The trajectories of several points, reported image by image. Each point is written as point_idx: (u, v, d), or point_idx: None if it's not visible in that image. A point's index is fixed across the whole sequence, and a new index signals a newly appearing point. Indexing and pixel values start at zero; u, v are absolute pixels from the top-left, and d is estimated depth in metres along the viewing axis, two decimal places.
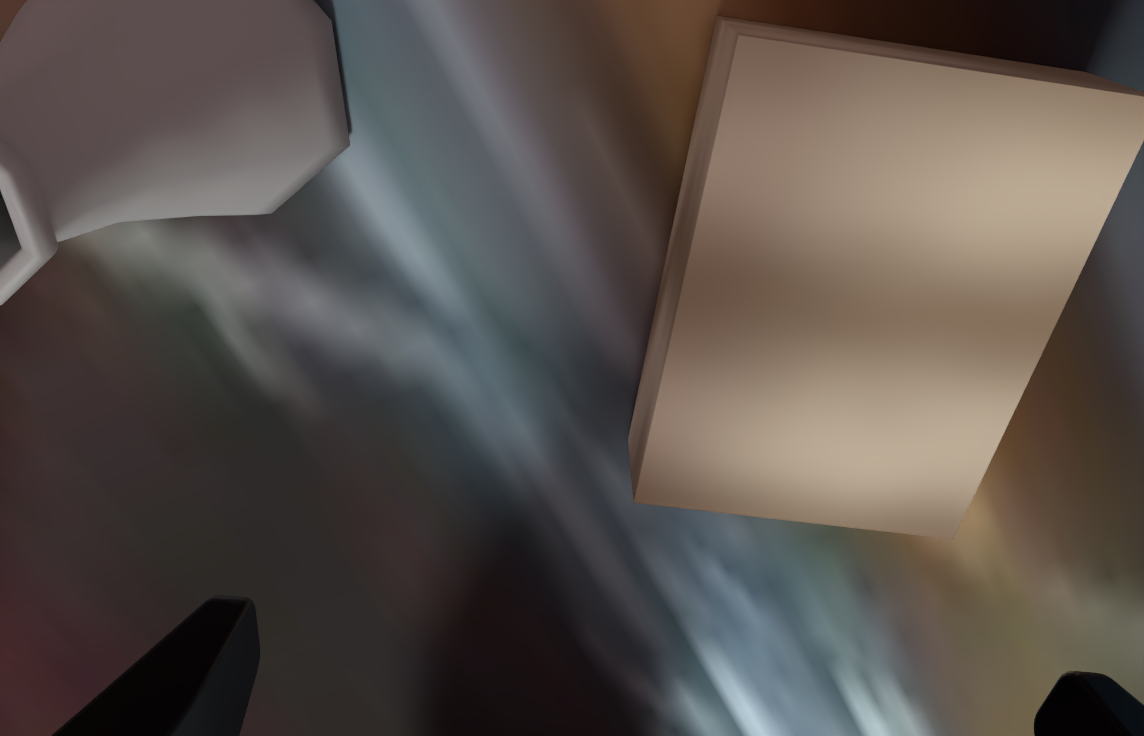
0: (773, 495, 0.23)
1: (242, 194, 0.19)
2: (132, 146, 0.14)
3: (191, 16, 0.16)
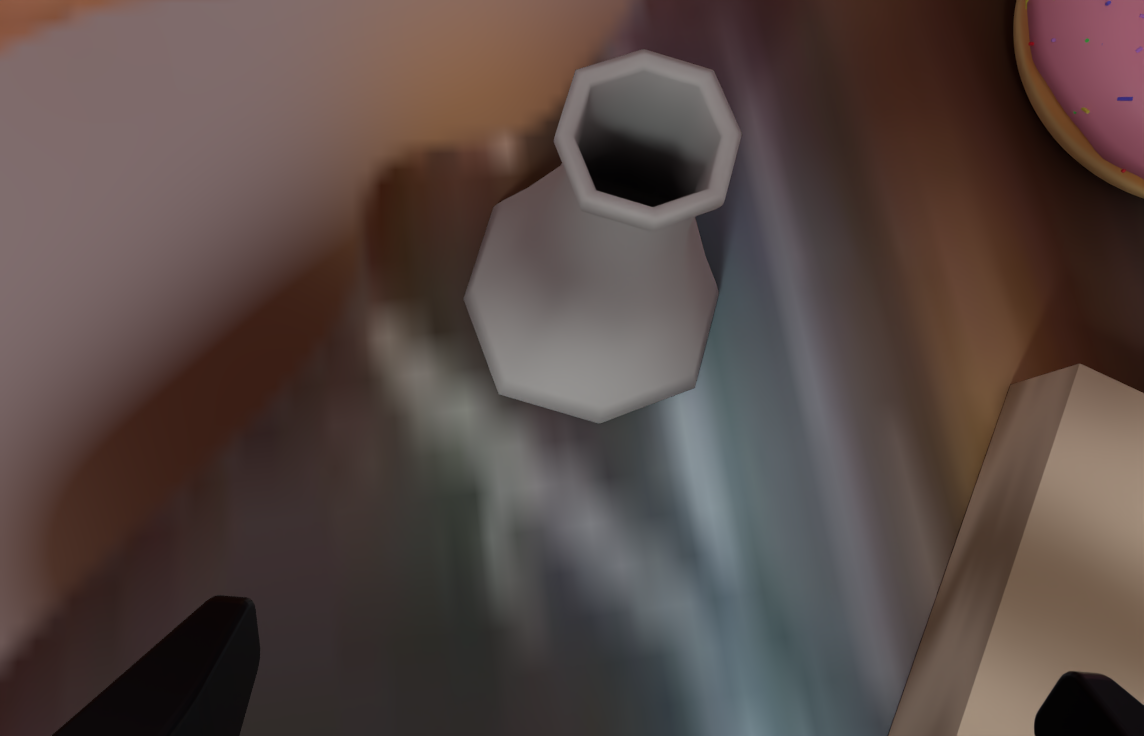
0: None
1: (636, 366, 0.21)
2: None
3: None
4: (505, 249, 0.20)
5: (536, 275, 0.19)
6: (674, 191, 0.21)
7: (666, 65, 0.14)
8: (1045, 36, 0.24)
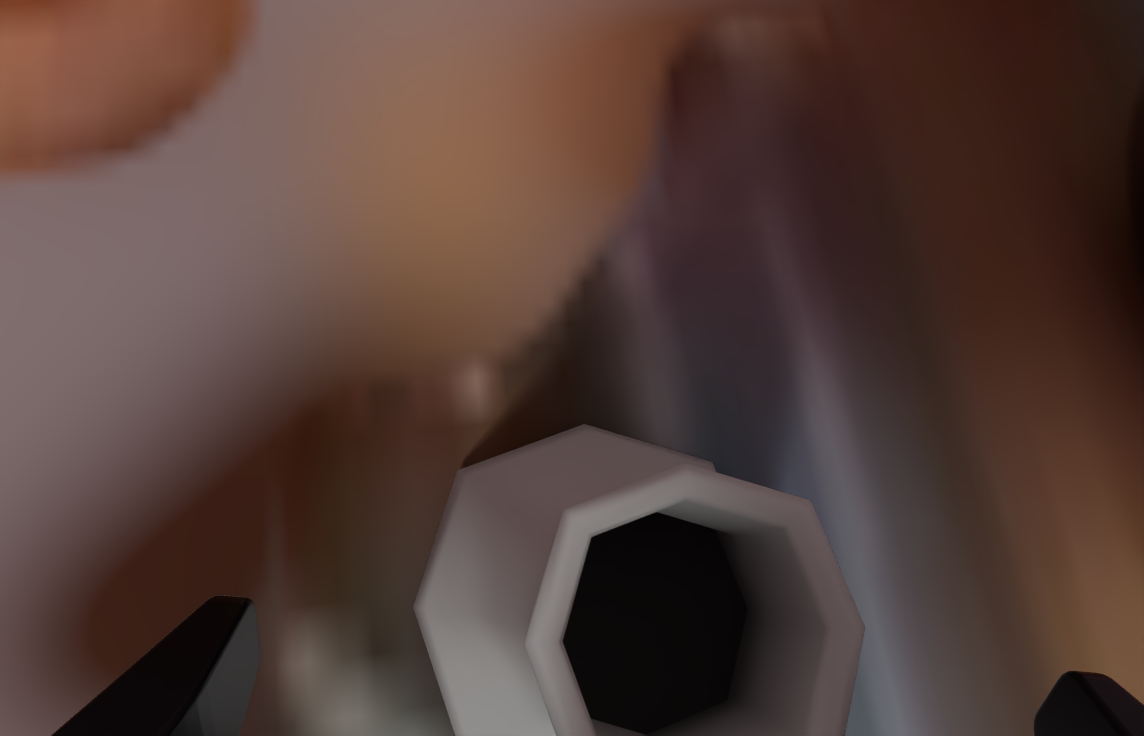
0: None
1: None
2: (742, 648, 0.11)
3: None
4: (465, 590, 0.14)
5: (507, 673, 0.12)
6: None
7: (727, 495, 0.08)
8: None
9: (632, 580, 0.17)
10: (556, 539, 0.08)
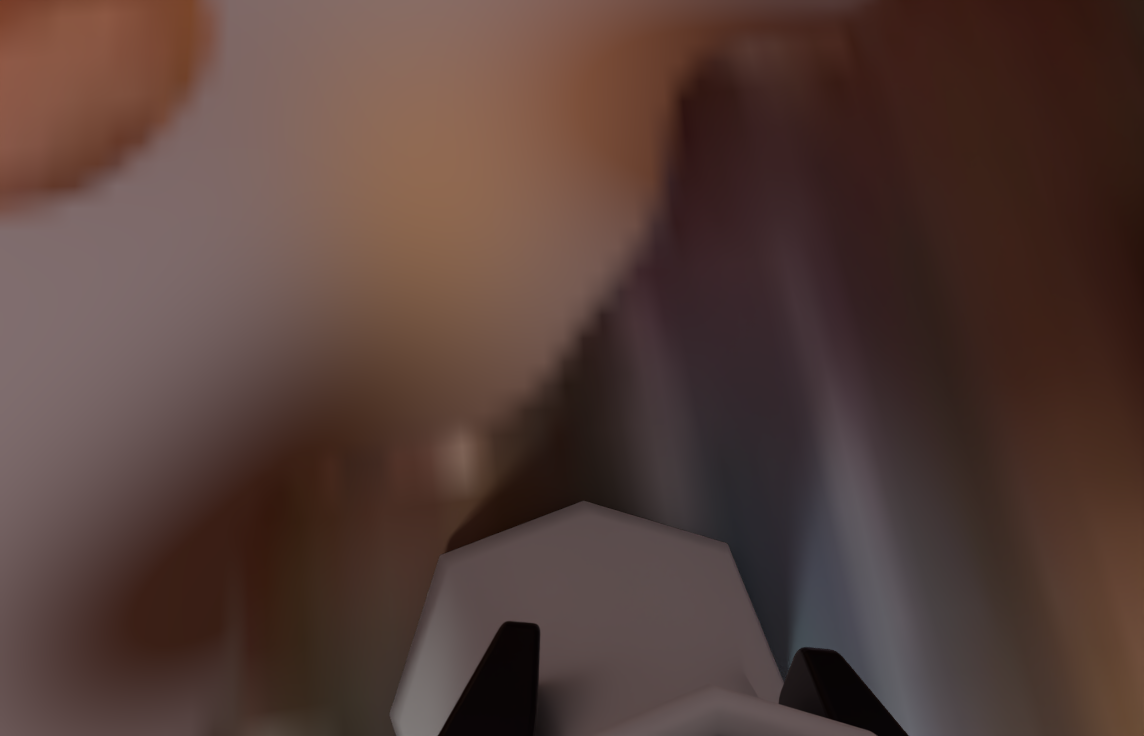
0: None
1: None
2: None
3: (753, 655, 0.12)
4: (444, 721, 0.12)
5: None
6: None
7: None
8: None
9: None
10: None
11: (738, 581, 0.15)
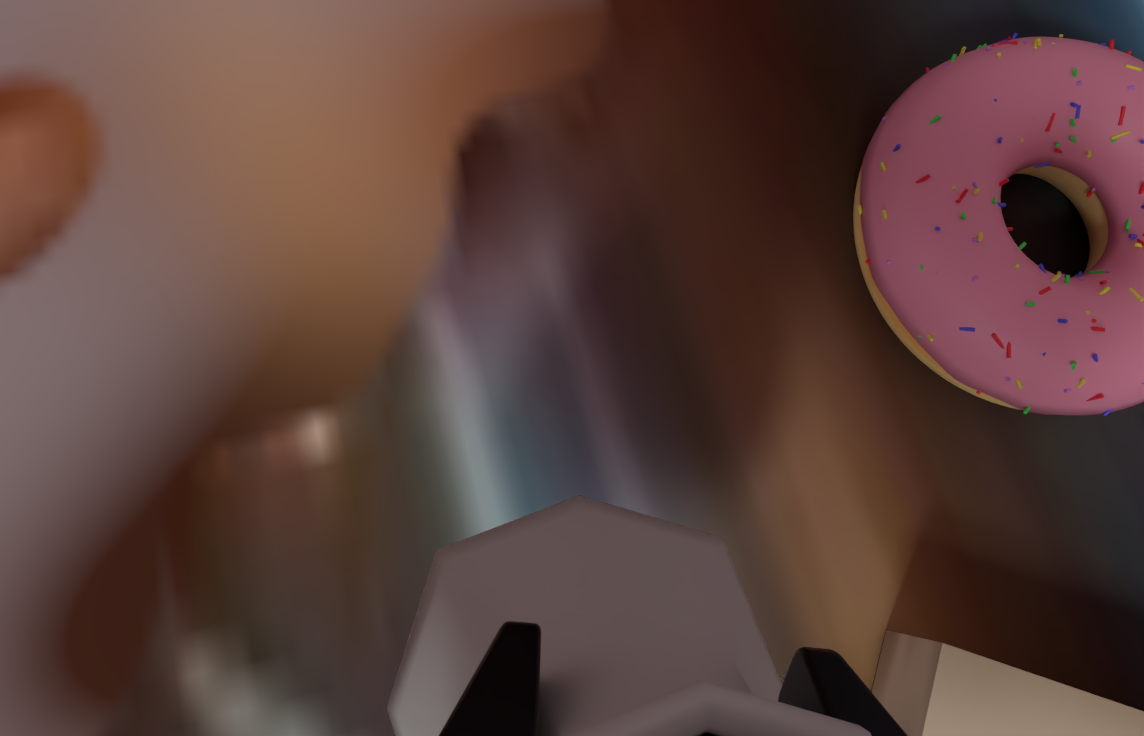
0: None
1: None
2: None
3: (747, 648, 0.12)
4: (441, 715, 0.12)
5: None
6: None
7: (761, 730, 0.06)
8: (880, 256, 0.22)
9: None
10: None
11: (733, 575, 0.15)
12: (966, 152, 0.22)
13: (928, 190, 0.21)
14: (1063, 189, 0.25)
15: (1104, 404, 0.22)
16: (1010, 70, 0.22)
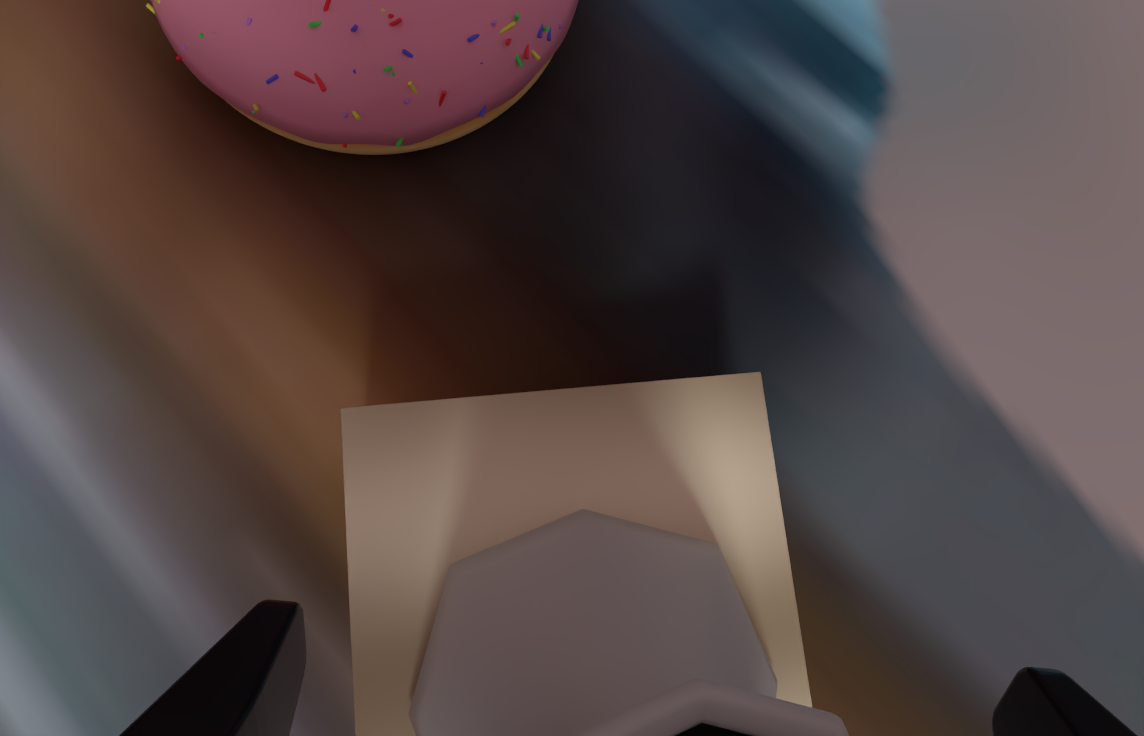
0: None
1: None
2: None
3: (742, 648, 0.13)
4: (462, 718, 0.13)
5: None
6: None
7: (748, 719, 0.07)
8: (179, 45, 0.20)
9: None
10: None
11: (728, 580, 0.16)
12: None
13: None
14: None
15: (464, 102, 0.20)
16: None
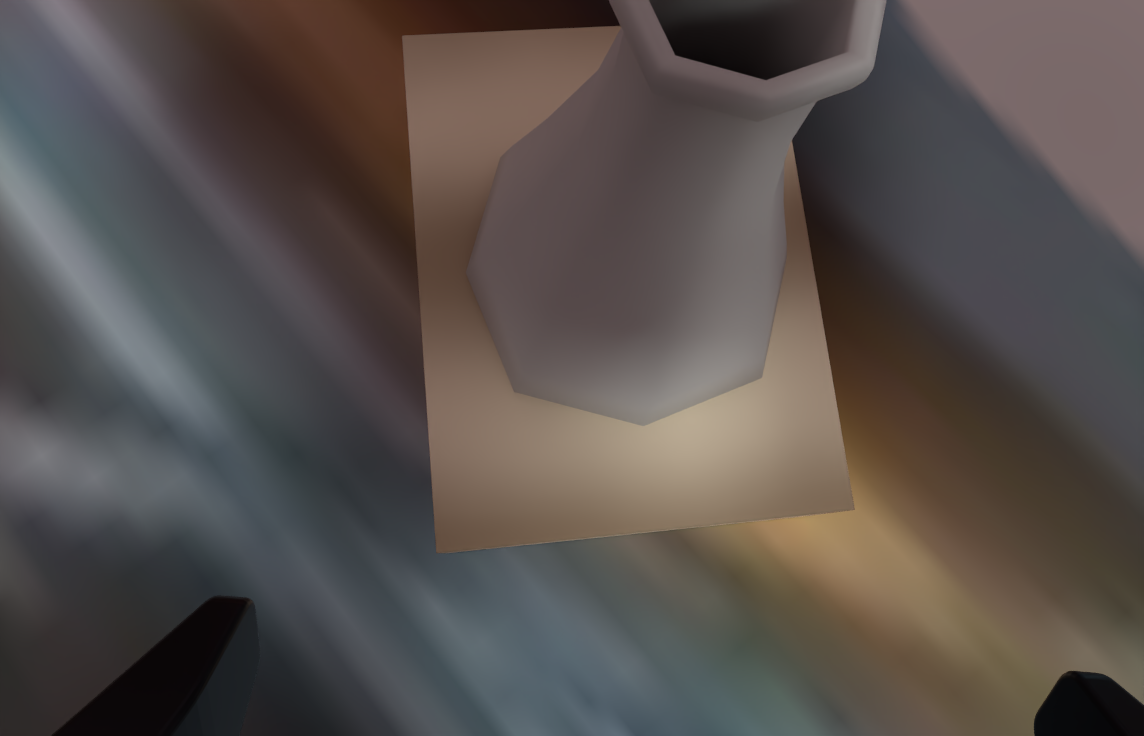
0: (607, 496, 0.18)
1: (696, 348, 0.16)
2: None
3: None
4: (521, 198, 0.16)
5: (567, 224, 0.14)
6: None
7: None
8: None
9: None
10: None
11: None
12: None
13: None
14: None
15: None
16: None
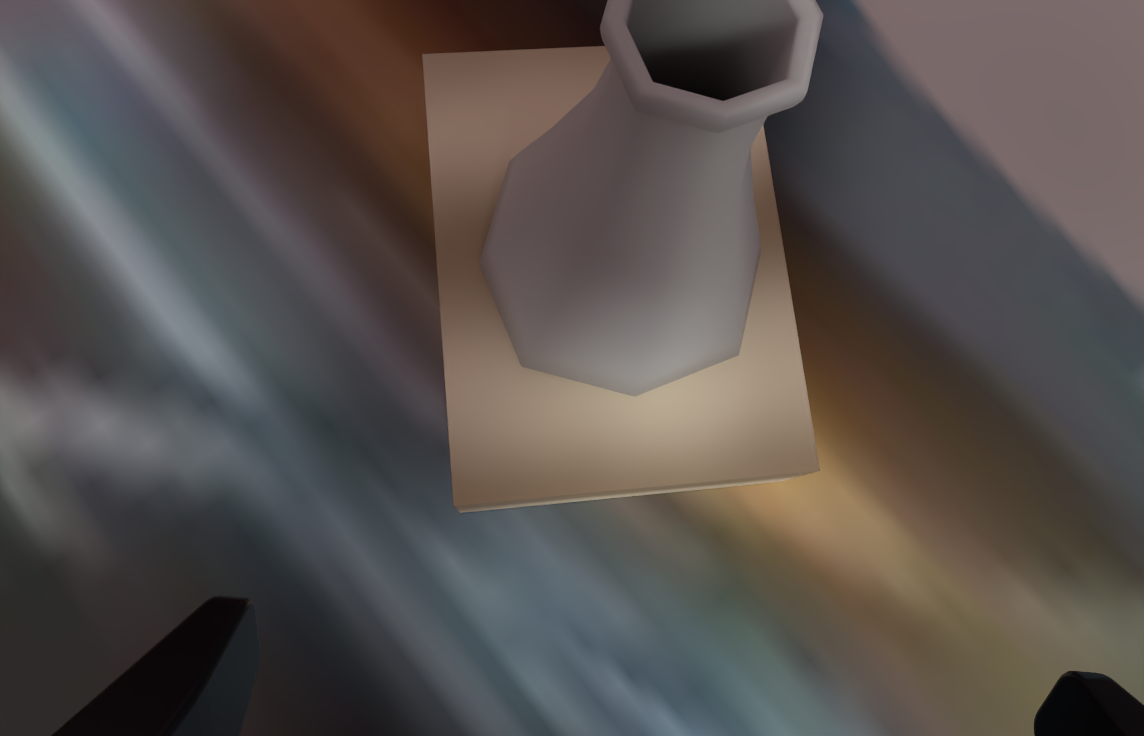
0: (603, 458, 0.20)
1: (679, 325, 0.18)
2: None
3: None
4: (528, 196, 0.18)
5: (568, 218, 0.16)
6: None
7: None
8: None
9: None
10: None
11: None
12: None
13: None
14: None
15: None
16: None
